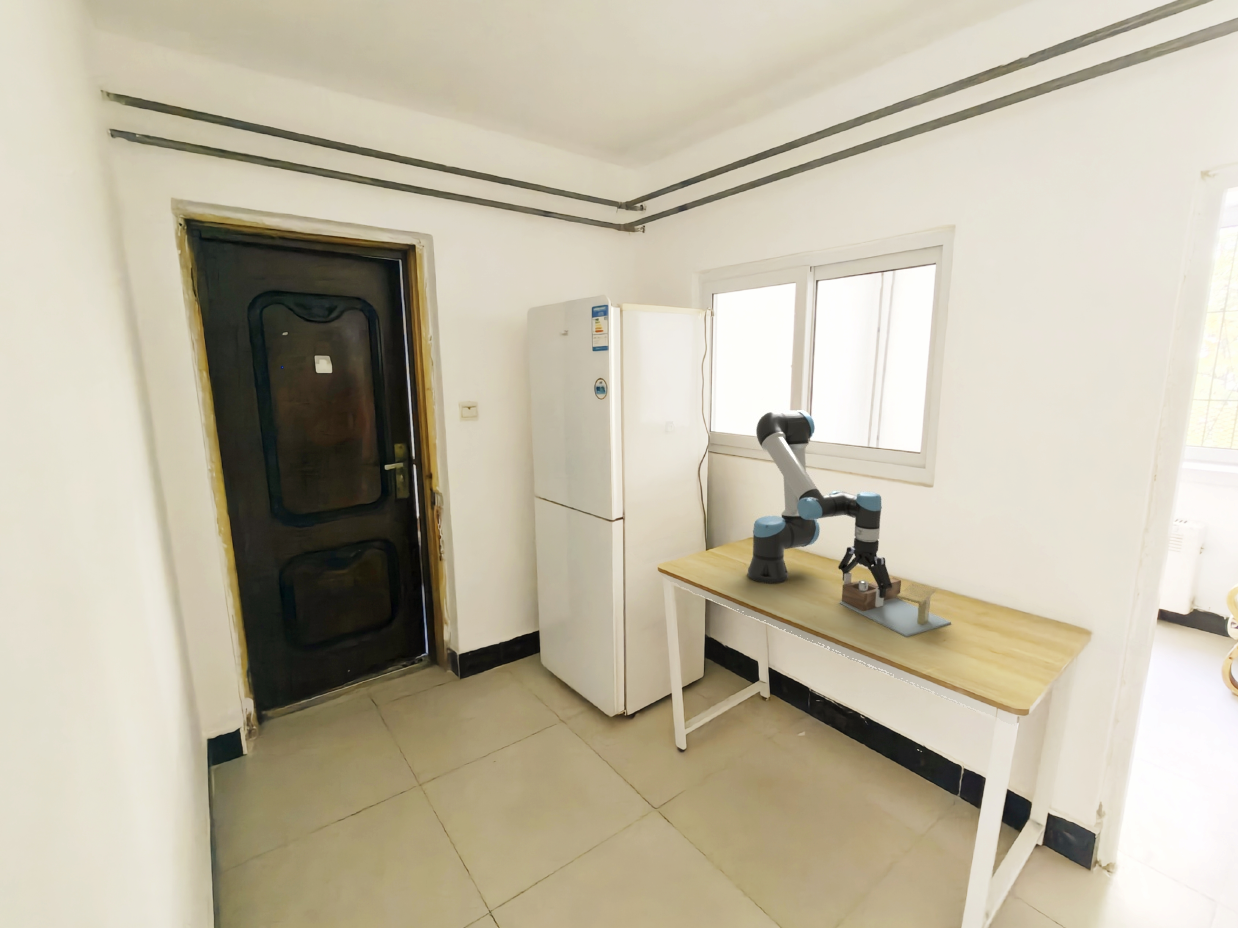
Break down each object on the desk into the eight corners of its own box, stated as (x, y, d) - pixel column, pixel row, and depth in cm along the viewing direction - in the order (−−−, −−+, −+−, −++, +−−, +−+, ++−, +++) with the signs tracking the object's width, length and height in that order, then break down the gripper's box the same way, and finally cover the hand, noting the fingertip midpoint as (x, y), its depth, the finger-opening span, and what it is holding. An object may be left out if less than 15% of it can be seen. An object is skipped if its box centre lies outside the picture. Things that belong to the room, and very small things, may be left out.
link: (862, 611, 176) (864, 594, 175) (841, 600, 184) (842, 584, 183) (907, 599, 184) (908, 583, 183) (885, 590, 192) (886, 574, 191)
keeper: (894, 624, 168) (897, 595, 166) (909, 611, 177) (911, 583, 175) (918, 631, 163) (921, 601, 161) (932, 618, 172) (935, 589, 170)
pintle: (855, 604, 183) (856, 581, 181) (861, 602, 184) (863, 579, 182) (862, 607, 180) (863, 584, 178) (868, 606, 181) (870, 582, 180)
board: (839, 603, 184) (839, 601, 184) (881, 592, 192) (881, 591, 191) (906, 636, 160) (906, 634, 160) (950, 623, 168) (950, 621, 168)
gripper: (829, 530, 188) (826, 586, 191) (890, 551, 165) (885, 615, 169) (845, 527, 190) (842, 583, 194) (907, 547, 168) (902, 610, 172)
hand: (862, 598), depth 181 cm, fingers open, 13 cm apart
